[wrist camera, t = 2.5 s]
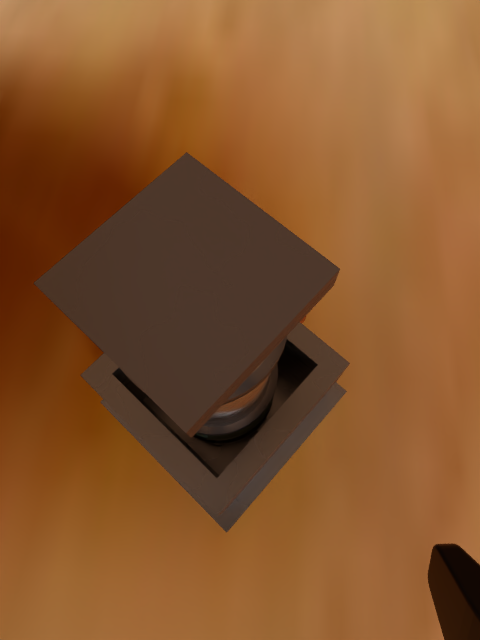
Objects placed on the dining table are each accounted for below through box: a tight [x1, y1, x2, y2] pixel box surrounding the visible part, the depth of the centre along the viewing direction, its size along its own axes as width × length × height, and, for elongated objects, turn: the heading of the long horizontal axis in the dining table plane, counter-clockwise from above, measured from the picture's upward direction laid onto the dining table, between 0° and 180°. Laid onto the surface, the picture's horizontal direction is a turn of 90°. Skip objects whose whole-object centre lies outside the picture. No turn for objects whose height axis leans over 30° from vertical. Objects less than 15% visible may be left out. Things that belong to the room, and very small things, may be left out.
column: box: [34, 153, 340, 444], centre depth 15 cm, size 4×4×12 cm
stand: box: [81, 316, 350, 532], centre depth 19 cm, size 8×8×6 cm
